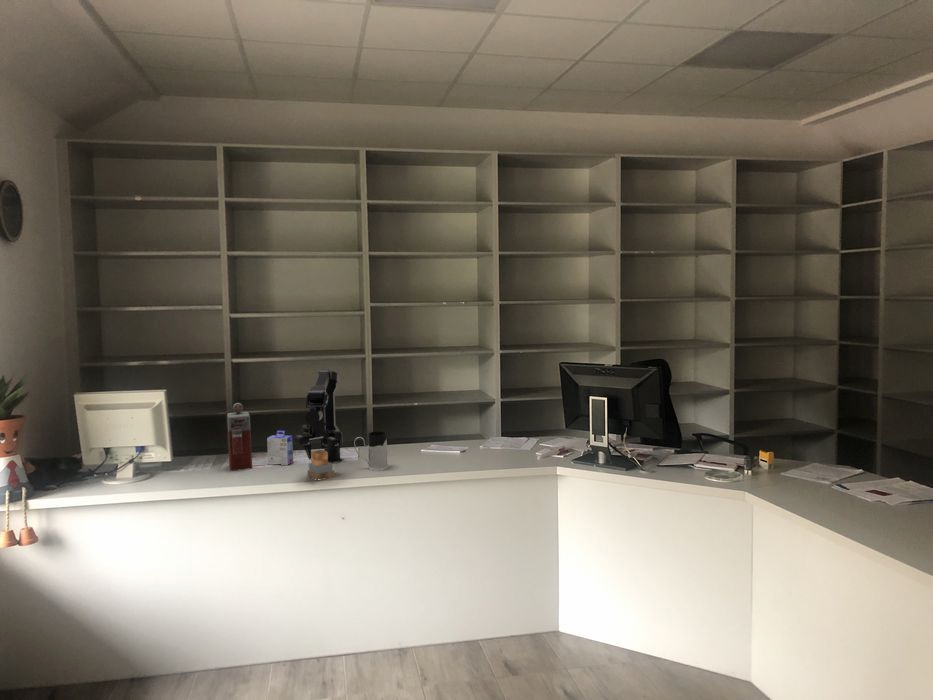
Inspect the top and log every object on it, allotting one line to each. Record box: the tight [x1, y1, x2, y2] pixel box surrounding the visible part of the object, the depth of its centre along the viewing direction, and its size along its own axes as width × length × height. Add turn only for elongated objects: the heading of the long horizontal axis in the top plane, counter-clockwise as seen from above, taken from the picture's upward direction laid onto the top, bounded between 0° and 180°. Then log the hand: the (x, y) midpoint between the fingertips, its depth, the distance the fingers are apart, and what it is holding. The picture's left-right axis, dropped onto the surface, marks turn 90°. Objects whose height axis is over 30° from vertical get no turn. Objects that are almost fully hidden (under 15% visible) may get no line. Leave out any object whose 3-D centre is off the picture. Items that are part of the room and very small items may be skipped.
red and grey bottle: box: [226, 402, 253, 471], centre depth 289 cm, size 9×11×28 cm
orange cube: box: [310, 449, 328, 466], centre depth 273 cm, size 5×5×5 cm
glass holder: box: [353, 431, 389, 471], centre depth 286 cm, size 9×14×15 cm, turn 99°
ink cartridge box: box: [266, 430, 294, 466], centre depth 296 cm, size 10×6×14 cm, turn 78°
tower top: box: [308, 462, 334, 474], centre depth 274 cm, size 7×7×3 cm
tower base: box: [307, 469, 335, 481], centre depth 275 cm, size 8×8×3 cm
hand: (319, 457), depth 274 cm, fingers open, 8 cm apart
